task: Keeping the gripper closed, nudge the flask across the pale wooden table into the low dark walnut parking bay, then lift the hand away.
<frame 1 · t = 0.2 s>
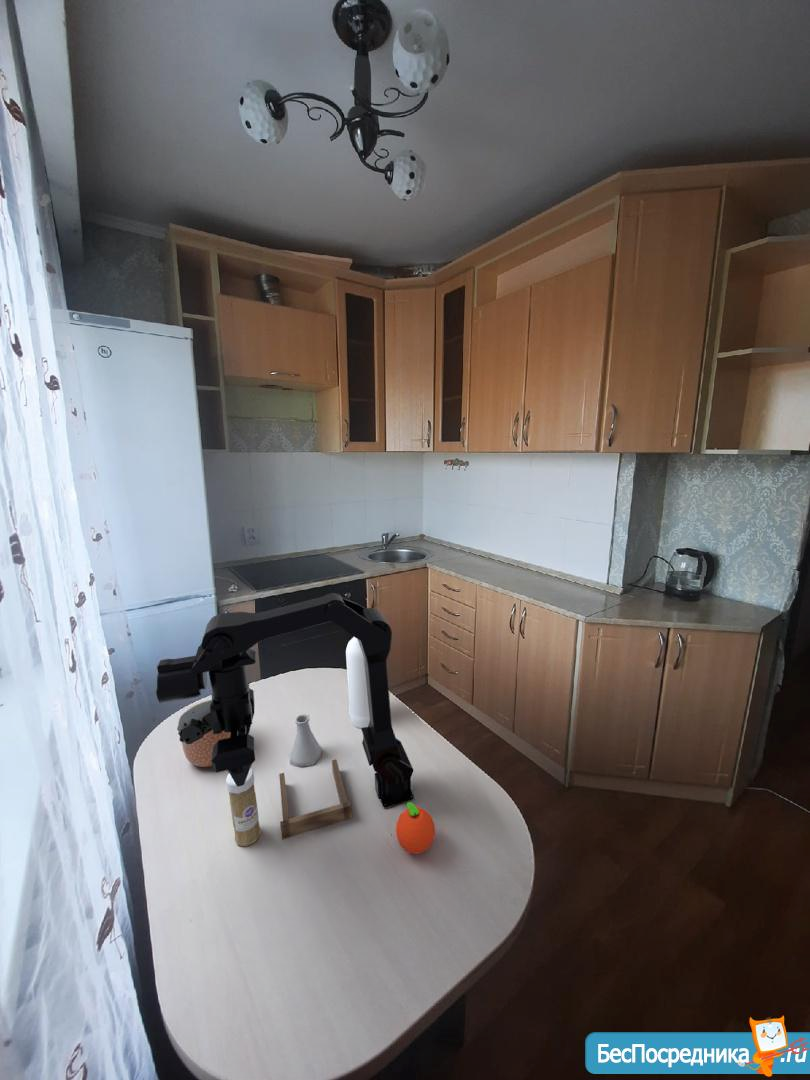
hand: (241, 766, 77), 15 cm above the table, fingers open, 9 cm apart
sprinkles bottle: (248, 836, 80), on the table
flask: (305, 757, 99), on the table
clementine: (414, 843, 77), on the table
bay: (313, 799, 87), on the table
planter: (214, 755, 100), on the table
bottle: (365, 719, 112), on the table
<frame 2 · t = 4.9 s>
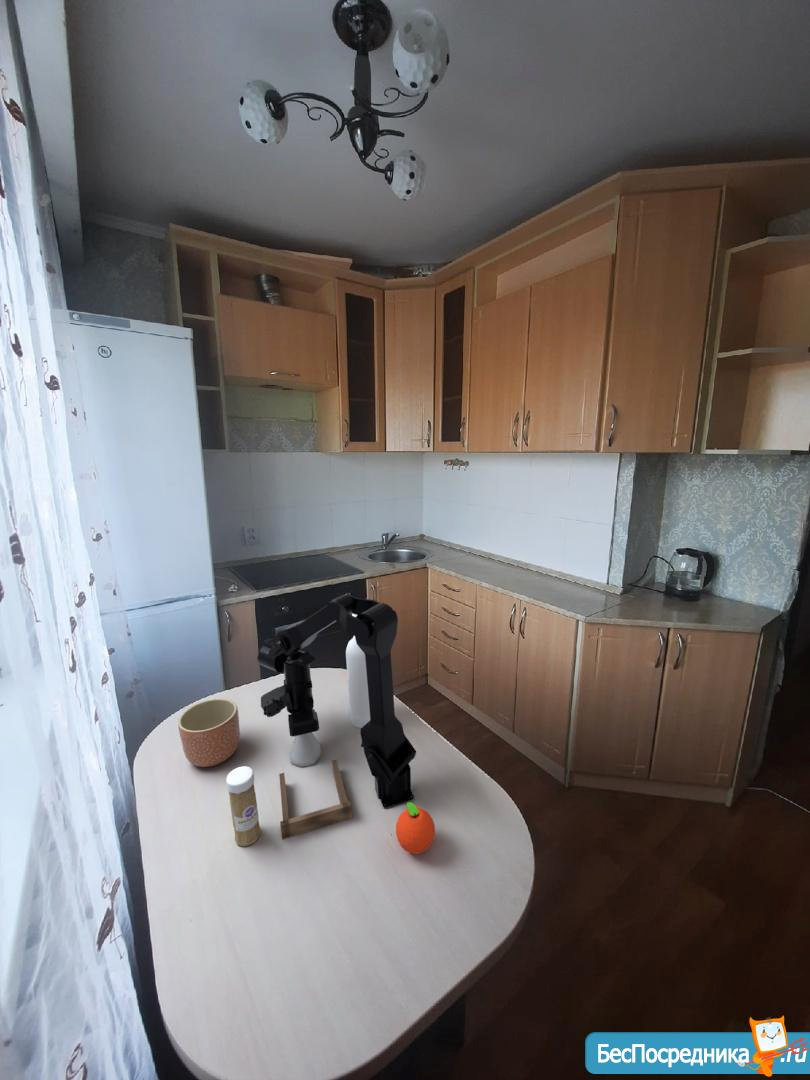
hand: (303, 735, 102), 2 cm above the table, fingers closed, pressing on flask
flask: (305, 755, 99), on the table, touching gripper
everything else where it was.
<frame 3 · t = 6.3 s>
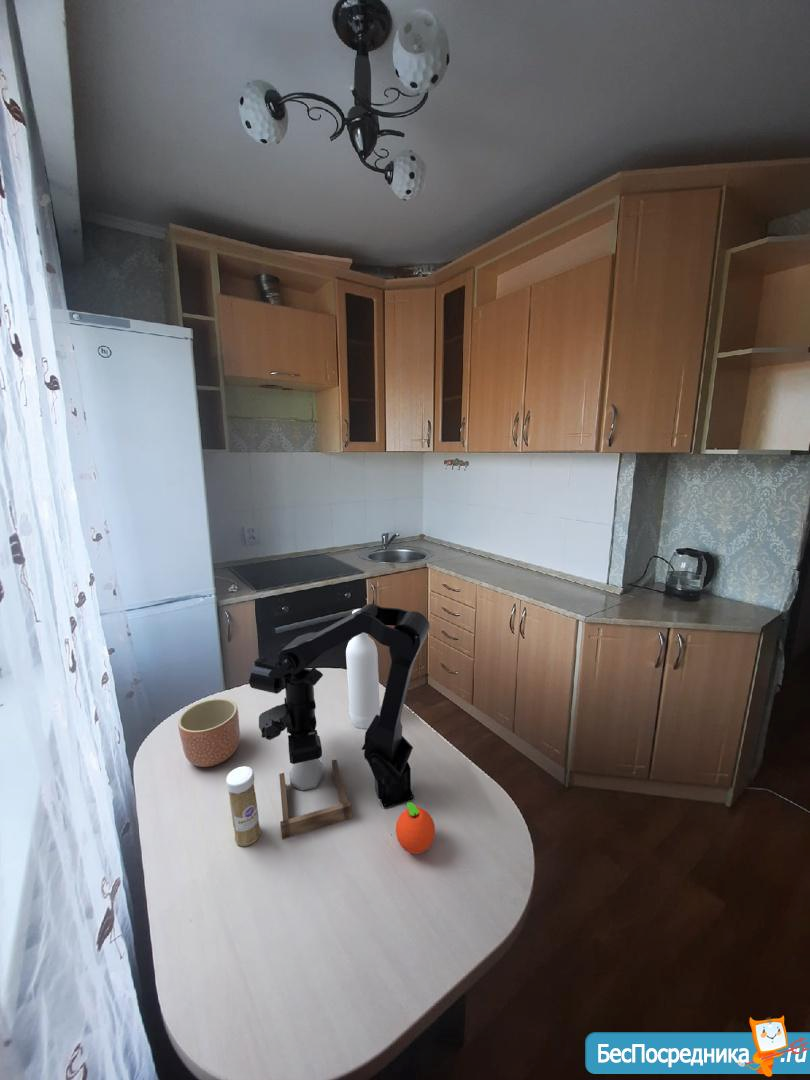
hand: (303, 757, 94), 3 cm above the table, fingers closed, pressing on flask
flask: (306, 775, 93), point 1 cm above the table, touching gripper
everything else where it was.
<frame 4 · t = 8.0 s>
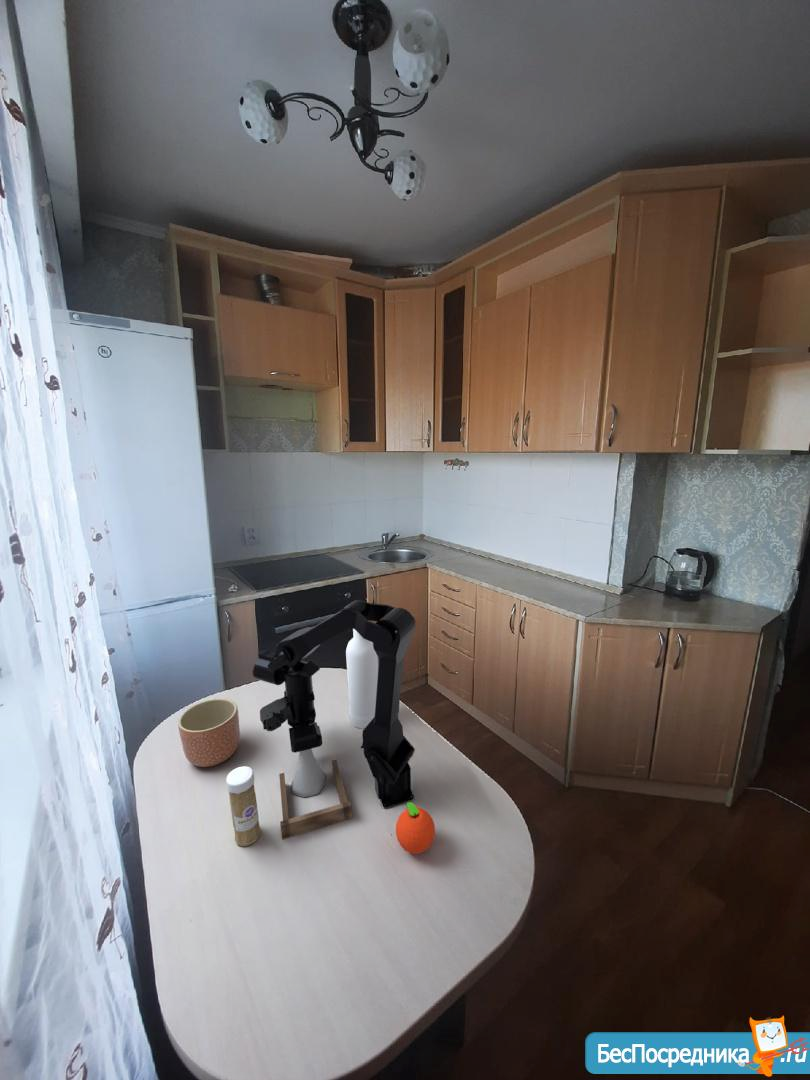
hand: (304, 749, 97), 3 cm above the table, fingers closed
flask: (308, 785, 91), on the table
everything else where it was.
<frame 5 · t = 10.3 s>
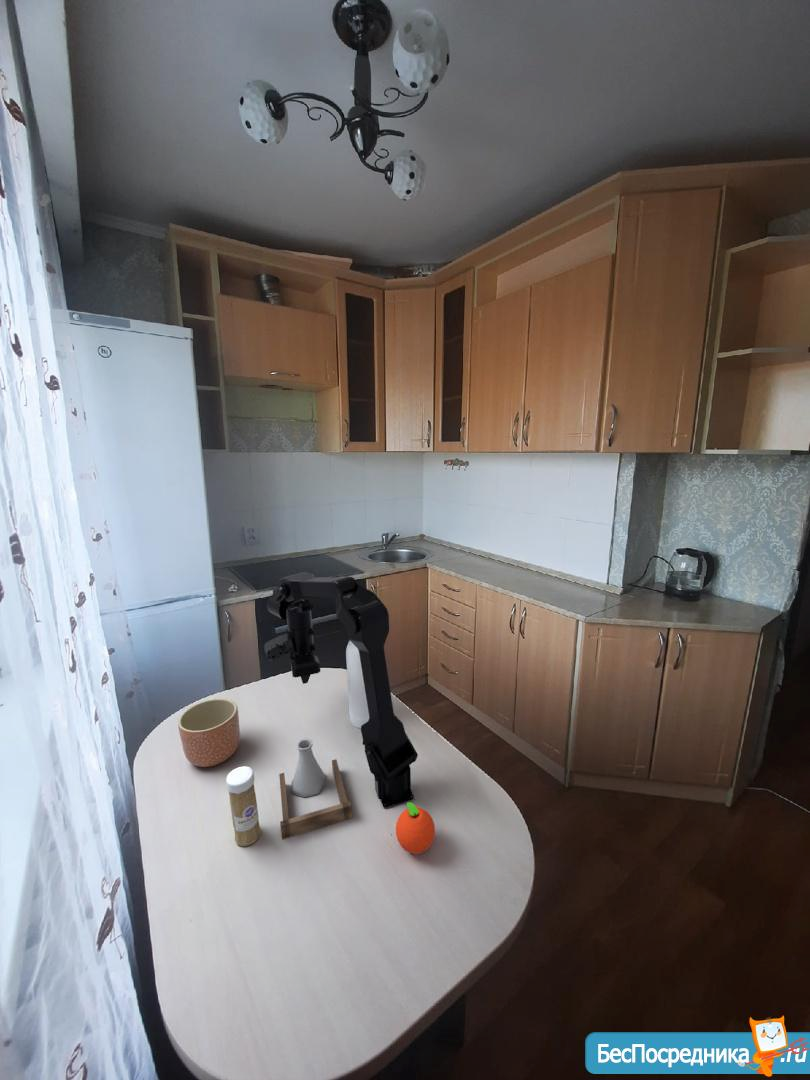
hand: (305, 682, 107), 12 cm above the table, fingers closed
nothing on the table moved.
at the end: flask 3.9 cm off-centre on the bay, point 0.0 cm above the bay's base; flask tilted 0°; flask moved 8.6 cm from its start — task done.
